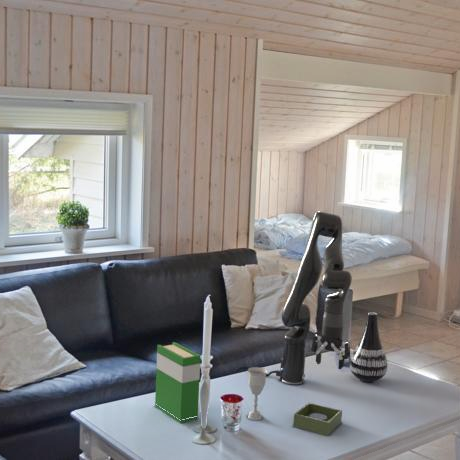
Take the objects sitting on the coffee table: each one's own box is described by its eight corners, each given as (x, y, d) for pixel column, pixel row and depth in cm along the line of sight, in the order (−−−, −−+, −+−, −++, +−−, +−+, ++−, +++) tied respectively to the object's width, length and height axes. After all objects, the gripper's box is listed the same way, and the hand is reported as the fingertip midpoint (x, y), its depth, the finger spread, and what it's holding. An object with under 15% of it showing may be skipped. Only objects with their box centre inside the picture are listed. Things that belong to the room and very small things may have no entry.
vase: (389, 388, 325) (395, 319, 320) (350, 385, 325) (356, 317, 321) (383, 375, 341) (388, 309, 336) (346, 372, 341) (351, 307, 336)
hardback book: (155, 406, 293) (157, 344, 289) (171, 402, 297) (174, 342, 293) (180, 423, 279) (183, 358, 275) (197, 419, 283) (200, 355, 279)
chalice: (267, 415, 290) (269, 369, 287) (261, 422, 283) (264, 375, 280) (248, 412, 292) (251, 366, 289) (242, 418, 286) (244, 371, 283)
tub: (293, 426, 281) (293, 414, 280) (307, 414, 293) (308, 402, 292) (327, 435, 275) (328, 422, 274) (341, 422, 287) (342, 410, 286)
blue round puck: (306, 423, 282) (306, 417, 282) (313, 417, 288) (313, 411, 288) (322, 427, 279) (323, 421, 279) (329, 421, 285) (329, 415, 285)
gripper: (355, 325, 284) (351, 367, 287) (319, 317, 291) (315, 359, 294) (347, 330, 278) (343, 373, 281) (310, 322, 284) (307, 364, 287)
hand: (329, 366), depth 287 cm, fingers open, 8 cm apart
